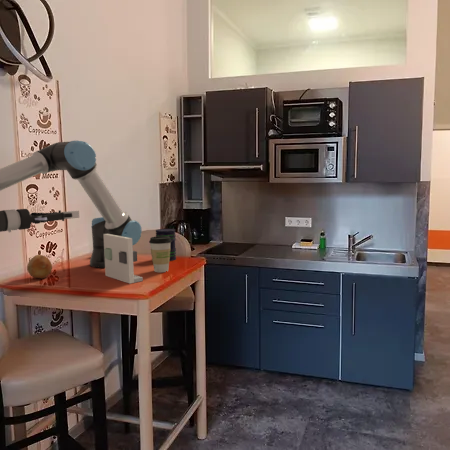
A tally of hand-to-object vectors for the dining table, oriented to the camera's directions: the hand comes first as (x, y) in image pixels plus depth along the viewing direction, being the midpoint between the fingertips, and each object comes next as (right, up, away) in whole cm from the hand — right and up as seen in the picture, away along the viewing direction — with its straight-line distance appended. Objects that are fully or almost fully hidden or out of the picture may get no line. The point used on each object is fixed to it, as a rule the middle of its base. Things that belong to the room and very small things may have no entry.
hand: (78, 214), depth 187 cm
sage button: (+11, -18, +12) cm, 25 cm away
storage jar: (+29, -22, +48) cm, 61 cm away
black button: (+19, -19, +3) cm, 27 cm away
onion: (-20, -27, +12) cm, 36 cm away
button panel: (+16, -27, +9) cm, 32 cm away
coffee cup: (+30, -25, +22) cm, 45 cm away
